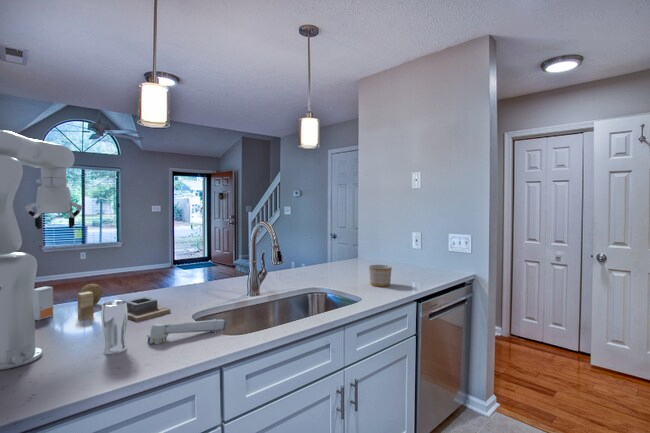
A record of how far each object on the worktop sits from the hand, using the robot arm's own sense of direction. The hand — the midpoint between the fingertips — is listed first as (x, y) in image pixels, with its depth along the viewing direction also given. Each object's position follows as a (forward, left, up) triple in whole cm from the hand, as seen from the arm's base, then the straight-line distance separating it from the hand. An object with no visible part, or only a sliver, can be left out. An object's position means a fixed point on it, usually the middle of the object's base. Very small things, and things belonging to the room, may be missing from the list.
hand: (55, 228), depth 130 cm
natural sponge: (+15, -17, -37) cm, 43 cm away
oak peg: (-1, -9, -37) cm, 38 cm away
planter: (-74, -128, -37) cm, 152 cm away
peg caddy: (-13, -25, -37) cm, 46 cm away
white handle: (-52, -21, -37) cm, 67 cm away
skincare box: (+13, +1, -37) cm, 39 cm away
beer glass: (-44, -1, -37) cm, 57 cm away
